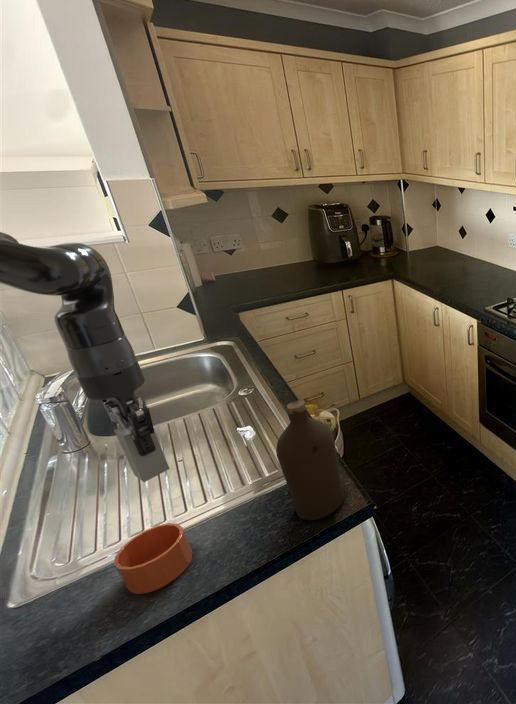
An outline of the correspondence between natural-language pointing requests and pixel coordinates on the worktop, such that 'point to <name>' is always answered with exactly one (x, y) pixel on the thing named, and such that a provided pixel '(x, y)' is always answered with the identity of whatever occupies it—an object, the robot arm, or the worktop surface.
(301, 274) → the worktop surface
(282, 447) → the olive oil
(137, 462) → the block
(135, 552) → the bowl
